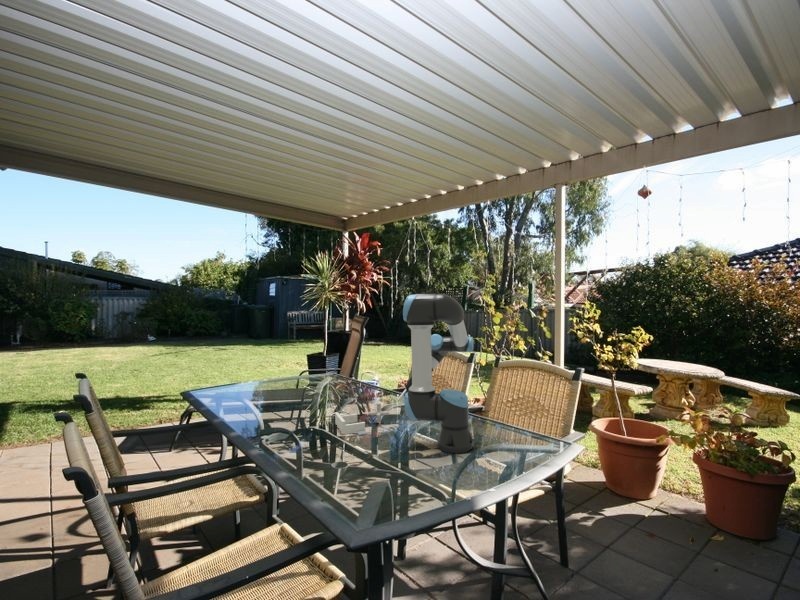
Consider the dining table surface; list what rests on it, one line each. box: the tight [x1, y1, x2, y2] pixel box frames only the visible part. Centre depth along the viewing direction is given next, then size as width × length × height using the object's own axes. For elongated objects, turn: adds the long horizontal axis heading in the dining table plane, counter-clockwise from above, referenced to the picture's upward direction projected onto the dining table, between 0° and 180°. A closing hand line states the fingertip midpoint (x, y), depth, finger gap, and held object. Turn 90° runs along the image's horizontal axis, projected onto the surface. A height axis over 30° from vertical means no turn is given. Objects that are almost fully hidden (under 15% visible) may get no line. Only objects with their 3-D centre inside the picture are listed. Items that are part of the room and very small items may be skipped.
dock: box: [334, 411, 368, 437], centre depth 208 cm, size 26×11×6 cm, turn 21°
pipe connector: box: [368, 402, 390, 424], centre depth 213 cm, size 10×10×10 cm
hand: (399, 400), depth 218 cm, fingers closed
